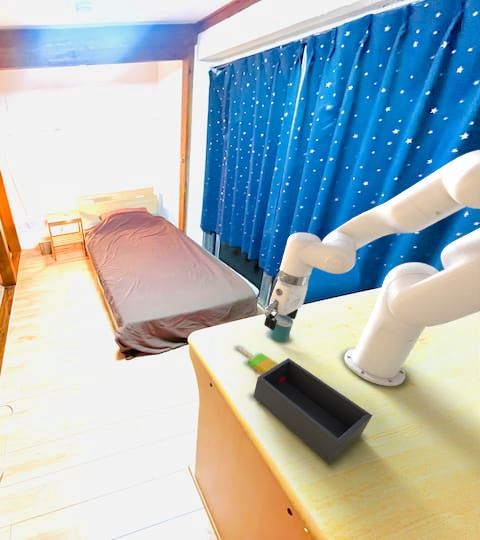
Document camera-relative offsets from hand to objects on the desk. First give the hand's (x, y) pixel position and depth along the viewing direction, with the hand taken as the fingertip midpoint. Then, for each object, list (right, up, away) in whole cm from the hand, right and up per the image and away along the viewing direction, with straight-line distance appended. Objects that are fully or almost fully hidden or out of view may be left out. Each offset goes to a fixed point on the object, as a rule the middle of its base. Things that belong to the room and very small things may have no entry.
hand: (279, 322), depth 87 cm
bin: (-6, -19, -21) cm, 28 cm away
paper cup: (+1, -5, +2) cm, 6 cm away
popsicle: (-10, -11, -6) cm, 16 cm away
